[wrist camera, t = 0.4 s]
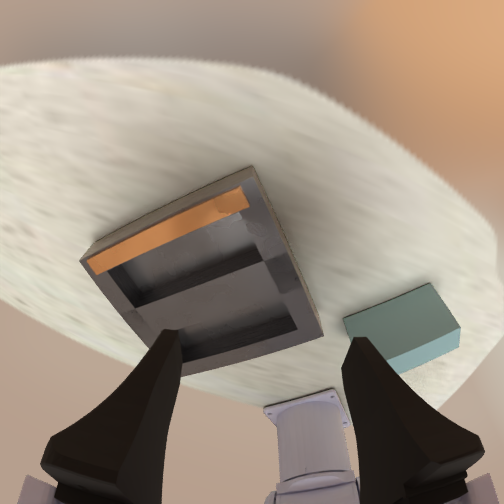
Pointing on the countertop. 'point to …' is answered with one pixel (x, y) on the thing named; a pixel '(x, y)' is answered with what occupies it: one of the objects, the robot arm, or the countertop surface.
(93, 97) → the countertop surface
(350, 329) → the panel
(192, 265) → the panel rack
